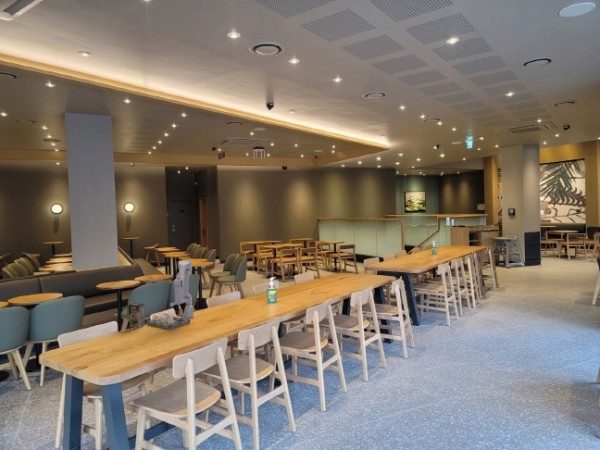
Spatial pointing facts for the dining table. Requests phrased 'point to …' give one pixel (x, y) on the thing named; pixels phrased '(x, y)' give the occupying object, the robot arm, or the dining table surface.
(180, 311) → the terracotta egg
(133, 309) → the coffee box
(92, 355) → the dining table surface
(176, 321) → the egg tray
